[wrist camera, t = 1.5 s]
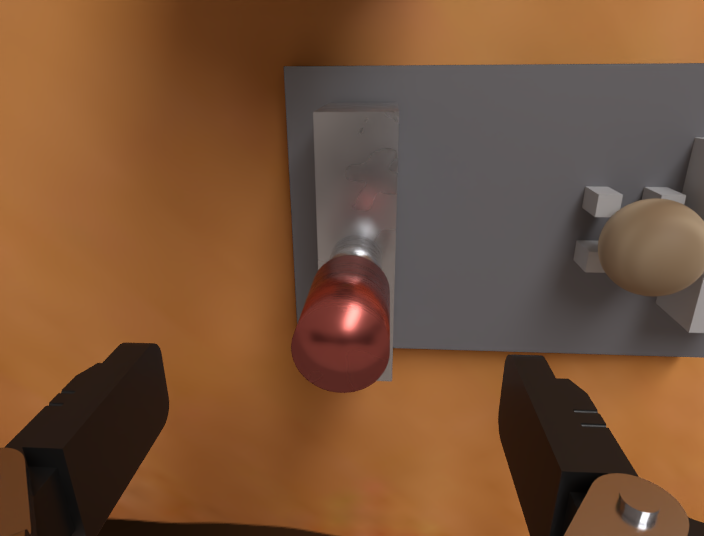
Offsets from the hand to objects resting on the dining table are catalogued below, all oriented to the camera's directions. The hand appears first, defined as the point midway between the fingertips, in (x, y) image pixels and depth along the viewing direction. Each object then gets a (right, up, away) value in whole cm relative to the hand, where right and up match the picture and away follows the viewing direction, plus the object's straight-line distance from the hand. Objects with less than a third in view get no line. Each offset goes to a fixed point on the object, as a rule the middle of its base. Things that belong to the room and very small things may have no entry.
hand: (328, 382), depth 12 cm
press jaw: (+1, +5, +13) cm, 13 cm away
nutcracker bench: (+8, +5, +14) cm, 17 cm away
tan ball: (+13, +3, +9) cm, 16 cm away
